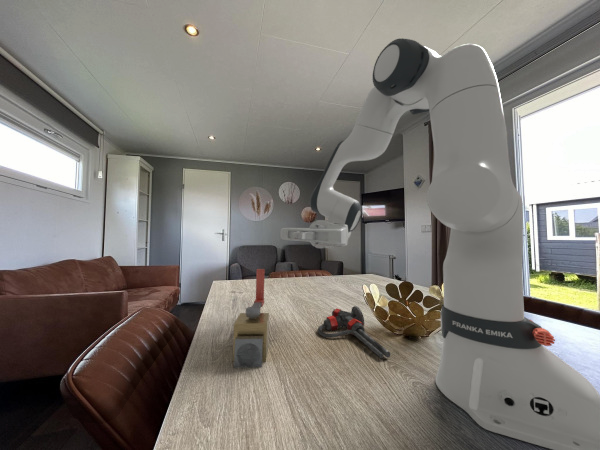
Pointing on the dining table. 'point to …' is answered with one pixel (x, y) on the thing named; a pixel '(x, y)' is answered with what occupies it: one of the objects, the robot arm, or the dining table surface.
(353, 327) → the valve
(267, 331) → the lever valve base
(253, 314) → the lever
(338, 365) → the dining table surface
